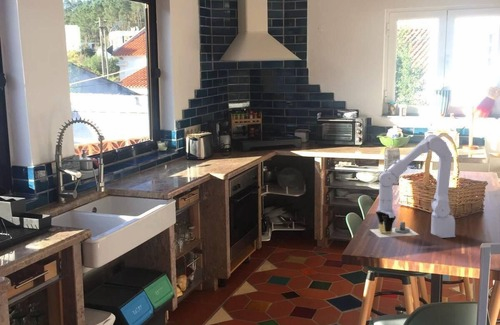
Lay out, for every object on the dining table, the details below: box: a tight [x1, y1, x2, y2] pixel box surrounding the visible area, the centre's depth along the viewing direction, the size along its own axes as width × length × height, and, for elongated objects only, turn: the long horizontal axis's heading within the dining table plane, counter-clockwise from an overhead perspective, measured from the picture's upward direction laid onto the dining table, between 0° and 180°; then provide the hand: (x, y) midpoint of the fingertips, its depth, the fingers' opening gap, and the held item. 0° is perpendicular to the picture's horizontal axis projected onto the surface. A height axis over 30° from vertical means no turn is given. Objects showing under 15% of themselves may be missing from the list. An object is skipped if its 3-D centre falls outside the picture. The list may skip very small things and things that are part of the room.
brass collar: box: [378, 221, 393, 233], centre depth 246 cm, size 5×5×4 cm
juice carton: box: [383, 144, 401, 185], centre depth 350 cm, size 9×8×24 cm
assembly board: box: [369, 221, 420, 238], centre depth 247 cm, size 18×12×6 cm, turn 98°
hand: (385, 229), depth 247 cm, fingers closed on brass collar, 5 cm apart
